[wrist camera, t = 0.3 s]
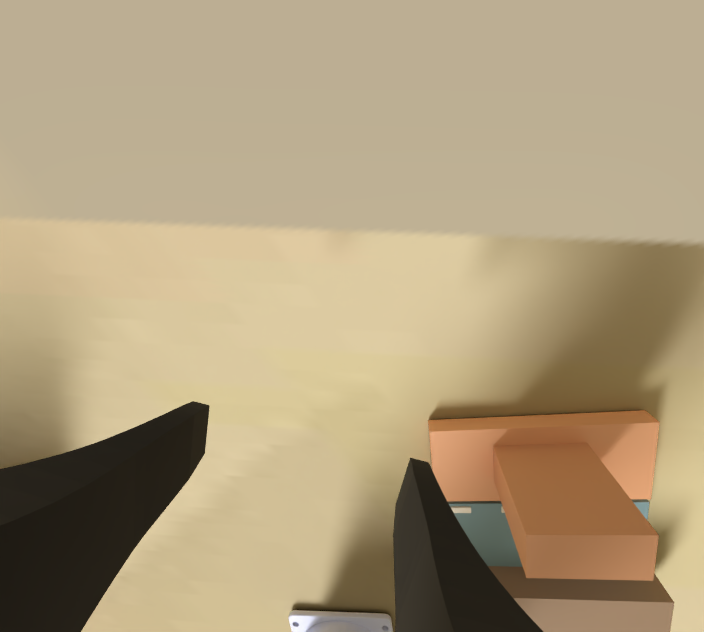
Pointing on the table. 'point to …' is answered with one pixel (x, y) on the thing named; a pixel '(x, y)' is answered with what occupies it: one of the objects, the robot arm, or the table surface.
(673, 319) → the table surface
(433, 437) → the stepped pink slab
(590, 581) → the block
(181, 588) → the table surface
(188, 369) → the table surface
